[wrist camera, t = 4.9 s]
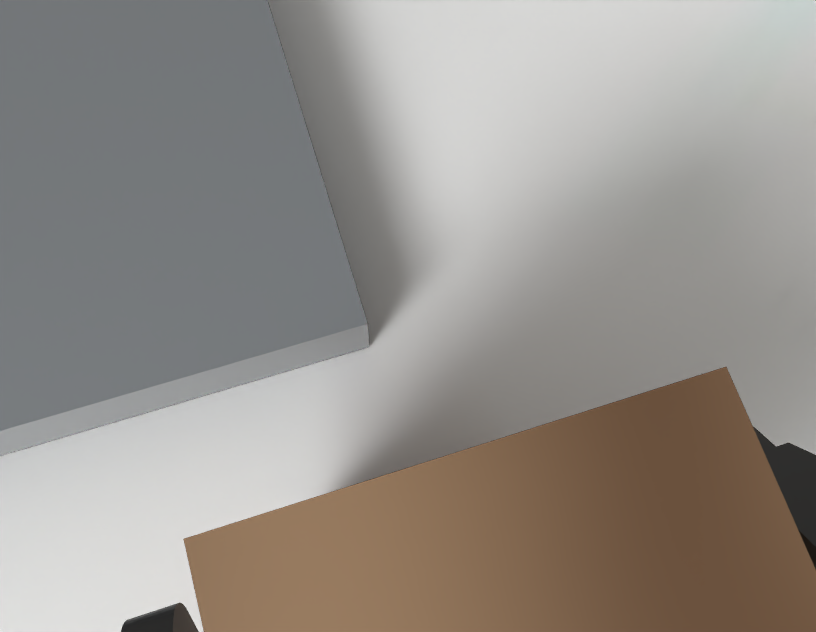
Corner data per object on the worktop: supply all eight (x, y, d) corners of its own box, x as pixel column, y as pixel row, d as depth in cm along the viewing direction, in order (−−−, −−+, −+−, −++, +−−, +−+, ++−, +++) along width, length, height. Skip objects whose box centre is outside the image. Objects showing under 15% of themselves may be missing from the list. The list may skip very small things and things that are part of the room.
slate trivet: (-172, 507, 15) (-251, 504, 13) (-215, 44, 18) (-284, -12, 16) (369, 346, 17) (367, 323, 15) (244, -58, 20) (230, -120, 18)
